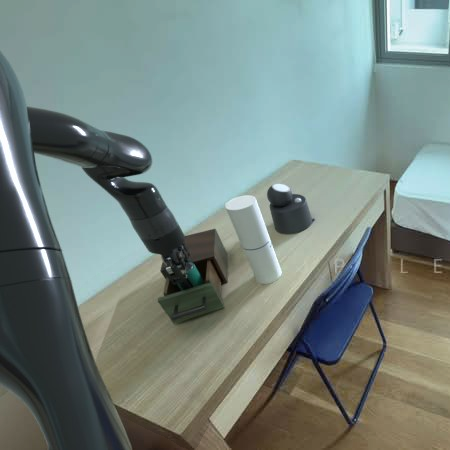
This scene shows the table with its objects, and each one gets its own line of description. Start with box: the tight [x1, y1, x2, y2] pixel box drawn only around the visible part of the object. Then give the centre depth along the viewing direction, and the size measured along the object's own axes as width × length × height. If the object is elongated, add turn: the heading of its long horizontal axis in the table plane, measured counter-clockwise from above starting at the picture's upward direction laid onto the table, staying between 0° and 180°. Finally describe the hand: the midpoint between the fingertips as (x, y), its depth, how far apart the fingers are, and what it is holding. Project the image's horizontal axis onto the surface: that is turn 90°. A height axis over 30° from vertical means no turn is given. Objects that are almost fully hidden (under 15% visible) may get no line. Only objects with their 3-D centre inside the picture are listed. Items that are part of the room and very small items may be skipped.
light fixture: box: [266, 183, 316, 235], centre depth 108 cm, size 13×16×14 cm
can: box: [177, 262, 205, 291], centre depth 78 cm, size 5×5×7 cm
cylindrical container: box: [224, 194, 283, 285], centre depth 83 cm, size 7×7×25 cm
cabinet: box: [160, 228, 228, 285], centre depth 89 cm, size 15×13×10 cm
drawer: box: [157, 259, 225, 325], centre depth 79 cm, size 18×11×8 cm, turn 25°
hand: (190, 281), depth 79 cm, fingers closed on can, 5 cm apart
